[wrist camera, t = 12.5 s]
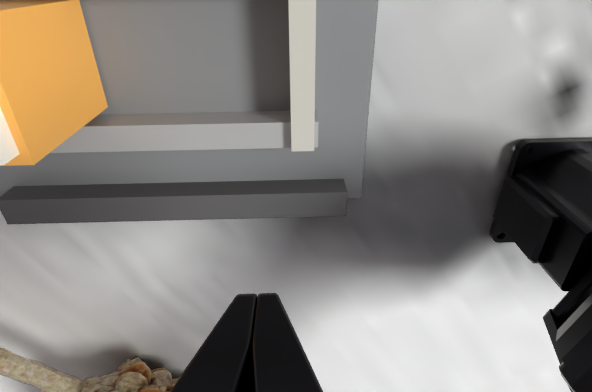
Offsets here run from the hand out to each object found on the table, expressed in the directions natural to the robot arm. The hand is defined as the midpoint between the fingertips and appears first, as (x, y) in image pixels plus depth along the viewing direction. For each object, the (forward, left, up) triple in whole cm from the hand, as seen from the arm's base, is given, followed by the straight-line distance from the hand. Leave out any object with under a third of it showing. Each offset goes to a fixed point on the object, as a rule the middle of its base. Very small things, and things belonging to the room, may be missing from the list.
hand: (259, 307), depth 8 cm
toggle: (+9, -3, -12) cm, 15 cm away
